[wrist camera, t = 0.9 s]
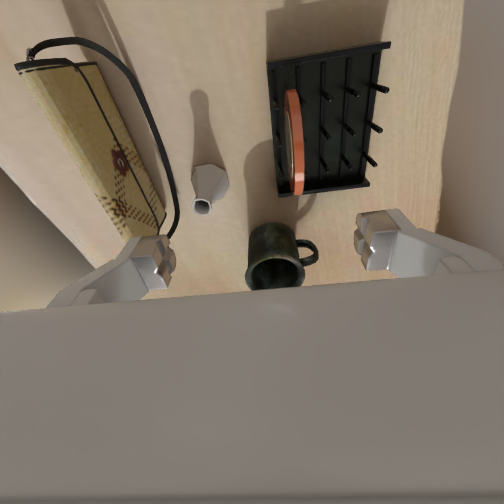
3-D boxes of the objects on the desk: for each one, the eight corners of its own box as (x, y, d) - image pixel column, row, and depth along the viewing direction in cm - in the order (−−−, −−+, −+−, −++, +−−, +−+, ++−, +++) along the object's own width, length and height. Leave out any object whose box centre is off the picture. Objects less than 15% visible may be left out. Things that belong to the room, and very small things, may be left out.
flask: (231, 166, 48) (226, 189, 40) (227, 201, 52) (222, 229, 44) (191, 160, 47) (178, 182, 39) (191, 196, 51) (179, 223, 44)
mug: (239, 227, 56) (236, 264, 46) (306, 209, 53) (318, 244, 44) (255, 263, 62) (255, 302, 53) (315, 249, 59) (327, 287, 50)
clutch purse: (191, 215, 54) (173, 262, 42) (160, 220, 55) (134, 268, 43) (118, 32, 36) (52, 25, 24) (74, 45, 37) (-11, 44, 25)
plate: (281, 84, 39) (291, 99, 28) (290, 82, 38) (304, 97, 28) (286, 174, 47) (296, 213, 36) (294, 173, 47) (305, 212, 36)
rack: (266, 61, 38) (267, 63, 32) (379, 41, 36) (402, 40, 31) (277, 188, 50) (279, 205, 45) (362, 177, 49) (376, 194, 43)
